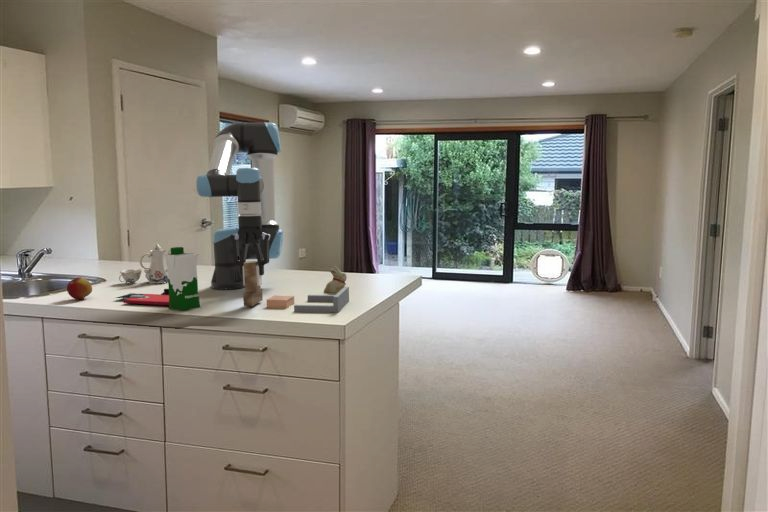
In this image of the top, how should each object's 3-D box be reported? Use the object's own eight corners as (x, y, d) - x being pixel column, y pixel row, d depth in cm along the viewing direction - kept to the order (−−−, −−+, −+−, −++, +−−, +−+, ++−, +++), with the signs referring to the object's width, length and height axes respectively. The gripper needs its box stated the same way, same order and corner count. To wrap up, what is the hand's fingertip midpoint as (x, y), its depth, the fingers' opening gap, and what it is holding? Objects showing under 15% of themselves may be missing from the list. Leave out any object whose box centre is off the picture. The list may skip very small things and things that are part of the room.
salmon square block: (266, 308, 200) (266, 299, 199) (275, 304, 207) (274, 295, 206) (286, 309, 198) (286, 300, 198) (294, 304, 205) (294, 296, 205)
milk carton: (186, 304, 207) (183, 246, 204) (204, 307, 202) (201, 247, 199) (164, 309, 199) (161, 248, 197) (183, 312, 195) (179, 250, 192)
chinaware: (174, 279, 270) (169, 241, 269) (197, 278, 260) (192, 240, 259) (114, 288, 248) (109, 248, 247) (137, 288, 238) (132, 246, 237)
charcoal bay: (294, 311, 193) (293, 296, 192) (308, 300, 210) (308, 286, 210) (338, 312, 191) (337, 297, 190) (349, 301, 208) (348, 286, 208)
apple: (68, 298, 220) (66, 276, 218) (93, 296, 223) (91, 275, 222) (67, 302, 213) (65, 279, 212) (92, 300, 216) (90, 278, 215)
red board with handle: (134, 294, 224) (105, 303, 210) (134, 287, 224) (104, 295, 209) (205, 298, 215) (180, 307, 201) (205, 290, 215) (179, 298, 201)
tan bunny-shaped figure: (343, 293, 223) (343, 266, 221) (323, 292, 224) (322, 266, 223) (347, 290, 228) (346, 264, 227) (327, 290, 230) (326, 263, 228)
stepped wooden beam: (242, 306, 199) (240, 263, 197) (252, 299, 209) (251, 259, 207) (253, 306, 198) (252, 263, 197) (264, 300, 208) (262, 259, 206)
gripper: (220, 215, 197) (223, 286, 200) (271, 215, 195) (273, 287, 198) (229, 214, 205) (232, 282, 208) (278, 214, 202) (280, 283, 205)
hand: (252, 284), depth 203 cm, fingers closed on stepped wooden beam, 4 cm apart
